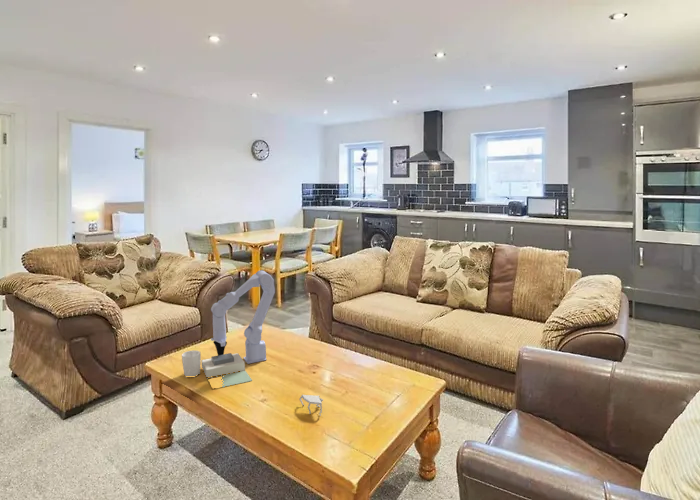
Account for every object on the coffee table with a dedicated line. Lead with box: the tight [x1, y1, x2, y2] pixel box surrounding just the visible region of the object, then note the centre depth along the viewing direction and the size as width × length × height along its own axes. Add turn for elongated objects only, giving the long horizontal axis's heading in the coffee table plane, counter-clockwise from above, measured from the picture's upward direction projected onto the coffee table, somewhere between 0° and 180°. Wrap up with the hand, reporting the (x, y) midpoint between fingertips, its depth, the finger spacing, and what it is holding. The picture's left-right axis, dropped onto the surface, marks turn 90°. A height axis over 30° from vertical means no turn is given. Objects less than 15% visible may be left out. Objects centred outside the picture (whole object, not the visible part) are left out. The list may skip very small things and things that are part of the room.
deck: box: [201, 352, 246, 378], centre depth 194 cm, size 17×12×4 cm
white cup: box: [181, 350, 202, 377], centre depth 188 cm, size 8×8×10 cm
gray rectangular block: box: [210, 352, 234, 366], centre depth 194 cm, size 9×6×2 cm, turn 119°
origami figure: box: [299, 394, 324, 417], centre depth 160 cm, size 12×8×5 cm
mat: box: [221, 370, 253, 388], centre depth 184 cm, size 17×11×1 cm, turn 119°
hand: (220, 355), depth 198 cm, fingers closed
